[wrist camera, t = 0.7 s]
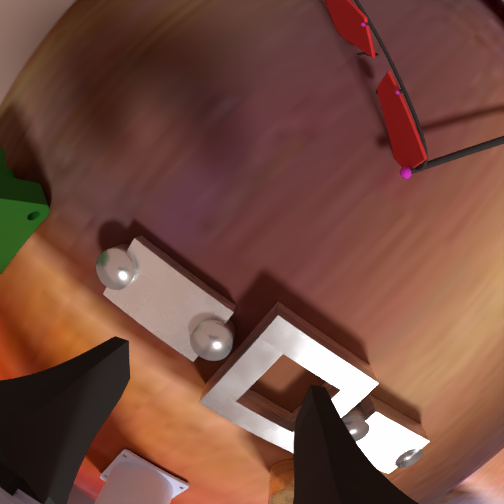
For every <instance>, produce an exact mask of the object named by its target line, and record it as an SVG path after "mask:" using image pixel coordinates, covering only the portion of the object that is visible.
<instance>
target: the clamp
mask: <svg viewBox="0 0 504 504" xmlns="http://www.w3.org/2000/svg"><path fill="white" fill-rule="evenodd" d="M48 214H49V207H48V204H47V201H46V198H45V195H44V192H43V189H42V186H41V185H40V184H39V183H35V182H31V181H26V180H21V179H16V178H15V176H14V173H13V170H10V169H7V164H6V159H5V153H4V150H3V148H2V147H0V274H1V273H2V272H3V271H4V269H5V268H6V267H7V265H8V264H9V262H10V261H11V260H12V258H13V257H14V256H15V255H16V253H17V252H18V251H19V249H20V248H21V247H22V246H23V244H24V243H25V242H26V241H27V239H28V238H29V237H30V236H31V234H32V233H33V232H34V231H35V230H36V228H37V227H38V226H39V225H40V224H41V222H42V221H43V220H44V219H45V218H46V217H47V215H48Z"/></svg>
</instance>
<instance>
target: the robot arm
mask: <svg viewBox="0 0 504 504" xmlns="http://www.w3.org/2000/svg"><path fill="white" fill-rule="evenodd" d="M129 379H130V365H129V341H128V340H125V339H122V338H119V337H116V336H115V337H113V338H111V339H109V340H107V341H105V342H104V343H102V344H100V345H98V346H96V347H94V348H93V349H91V350H89V351H87V352H85V353H83V354H81V355H79V356H77V357H75V358H73V359H71V360H68V361H66V362H64V363H62V364H59V365H57V366H55V367H52V368H50V369H47V370H44V371H41V372H38V373H35V374H31V375H27V376H23V377H18V378H14V379H9V380H2V381H0V504H67V500H68V497H69V494H70V491H71V488H72V486H73V483H74V480H75V478H76V475H77V473H78V470H79V468H80V466H81V464H82V461H83V459H84V457H85V455H86V453H87V451H88V448H89V446H90V444H91V442H92V441H93V439H94V437H95V435H96V434H97V432H98V431H99V429H100V428H101V426H102V425H103V423H104V422H105V420H106V419H107V417H108V416H109V414H110V413H111V411H112V410H113V408H114V407H115V405H116V404H117V402H118V401H119V399H120V398H121V396H122V394H123V392H124V390H125V388H126V386H127V384H128V381H129ZM293 449H294V500H293V504H418V503H417V502H415V501H414V500H412V499H411V498H409V497H408V496H407V495H405V494H404V493H403V492H402V491H400V490H399V489H398V488H397V487H396V486H394V485H393V484H392V483H391V482H390V481H389V480H388V479H387V478H386V477H385V476H384V475H383V474H382V473H381V472H380V471H379V470H378V469H377V468H376V467H375V466H374V465H373V464H372V462H371V461H370V460H369V459H368V458H367V456H366V455H365V454H364V453H363V451H362V450H361V448H360V447H359V446H358V444H357V443H356V441H355V440H354V438H353V437H352V435H351V433H350V432H349V430H348V428H347V427H346V425H345V423H344V422H343V420H342V418H341V416H340V414H339V413H338V411H337V409H336V407H335V405H334V403H333V401H332V399H331V397H330V395H329V393H328V391H327V389H326V387H320V386H314V385H310V387H309V389H308V391H307V394H306V396H305V399H304V401H303V403H302V406H301V408H300V410H299V413H298V415H297V417H296V420H295V429H294V440H293ZM100 478H101V479H103V480H104V481H106V483H105V484H104V486H103V488H102V490H101V492H100V494H99V496H98V498H97V500H96V502H95V504H170V502H171V499H172V498H173V497H175V496H177V495H178V494H180V493H181V492H183V491H185V490H186V489H188V488H189V484H188V483H187V482H184V481H182V480H181V479H179V478H177V477H175V476H173V475H171V474H169V473H167V472H165V471H163V470H162V469H160V468H158V467H156V466H154V465H153V464H151V463H149V462H148V461H146V460H144V459H142V458H141V457H139V456H137V455H136V454H134V453H133V452H131V451H129V450H127V449H124V450H123V451H122V452H121V453H120V454H119V455H118V456H117V457H116V458H115V459H114V461H113V462H112V463H111V464H110V465H109V466H108V467H107V468H106V469H105V470H104V472H103V473H102V474H101V475H100Z"/></svg>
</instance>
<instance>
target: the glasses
mask: <svg viewBox="0 0 504 504" xmlns="http://www.w3.org/2000/svg"><path fill="white" fill-rule="evenodd" d="M325 1H326V4H327V7H328V9H329V12H330V15H331V18H332V21H333V24H334V25H335V27H336V29H337V31H338V33H339V34H340V36H341V37H343V38H345V39H346V40H348V41H349V42H351V43H352V44H354V45H355V46H356V47H358V48H359V49H361V50H362V51H364V52H365V53H363V52H361V53H357V54H358V55H362V54H366V55H367V56H371V57H372V58H375V57H376V56H379V54H377V53H375V51H374V46H373V42H372V37H371V33H370V28H369V26H370V27H371V29H372V31H373V33H374V35H375V36H376V38H377V40H378V42H379V44H380V46H381V48H382V49H383V51H384V53H385V55H386V57H387V59H388V61H389V63H390V65H391V67H392V69H393V71H394V74H395V76H396V78H397V80H398V82H399V84H400V87H401V89H399V87H398V85H397V83H396V81H395V79H394V77H393V75H392V73H391V71H389V72H387V73H386V75H385V76H384V78H383V79H382V81H381V82H380V84H379V85H378V87H377V88H376V89H377V90H376V94H378V96H379V99H380V103H381V107H382V110H383V114H384V118H385V122H386V126H387V130H388V134H389V138H390V142H391V147H392V151H393V155H394V158H395V160H396V161H397V162H398V163H399V164H400V166H401V167H402V168H401V170H400V175H401V176H402V177H403V178H405V179H406V178H409V177H410V176H411V174H414V173H416V172H419V171H422V170H425V169H428V168H431V167H434V166H437V165H440V164H443V163H446V162H449V161H452V160H455V159H458V158H461V157H464V156H467V155H470V154H473V153H476V152H479V151H482V150H485V149H489V148H492V147H495V146H498V145H501V144H504V136H502V137H499V138H496V139H493V140H490V141H487V142H484V143H481V144H478V145H475V146H472V147H469V148H466V149H463V150H460V151H457V152H454V153H451V154H448V155H445V156H442V157H439V158H436V159H433V160H430V161H427V160H428V155H427V147H426V143H425V139H424V135H423V132H422V129H421V126H420V123H419V120H418V118H417V115H416V113H415V110H414V108H413V105H412V103H411V100H410V98H409V96H408V93H407V91H406V89H405V87H404V84H403V82H402V80H401V78H400V76H399V74H398V71H397V69H396V67H395V65H394V63H393V61H392V59H391V57H390V55H389V53H388V51H387V49H386V47H385V46H384V44H383V42H382V40H381V38H380V36H379V34H378V33H377V31H376V29H375V27H374V26H373V24H372V22H371V20H370V19H369V17H368V15H367V14H366V12H365V11H364V9H363V7H362V6H361V4H360V3H359V1H358V0H354V1H355V3H356V4H357V6H358V7H359V8H358V7H357V6H356V5H355V4H354V3H353V2H352V1H351V0H325ZM402 93H404V96H405V98H406V100H407V103H408V105H409V108H410V110H411V113H412V115H413V118H414V120H415V123H416V125H417V128H418V131H419V134H418V131H417V129H416V126H415V124H414V121H413V119H412V116H411V114H410V112H409V109H408V107H407V105H406V102H405V100H404V98H403V96H402ZM419 135H420V136H419ZM420 138H421V139H420ZM423 161H424V162H423ZM422 162H423V163H422Z"/></svg>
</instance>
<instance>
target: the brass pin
mask: <svg viewBox="0 0 504 504" xmlns="http://www.w3.org/2000/svg"><path fill="white" fill-rule="evenodd" d="M293 500H294V459H289V460H283V461H280V462H277V463H276V464H274V465H273V466H272V467H271V469H270V480H269V501H268V504H293Z"/></svg>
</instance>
